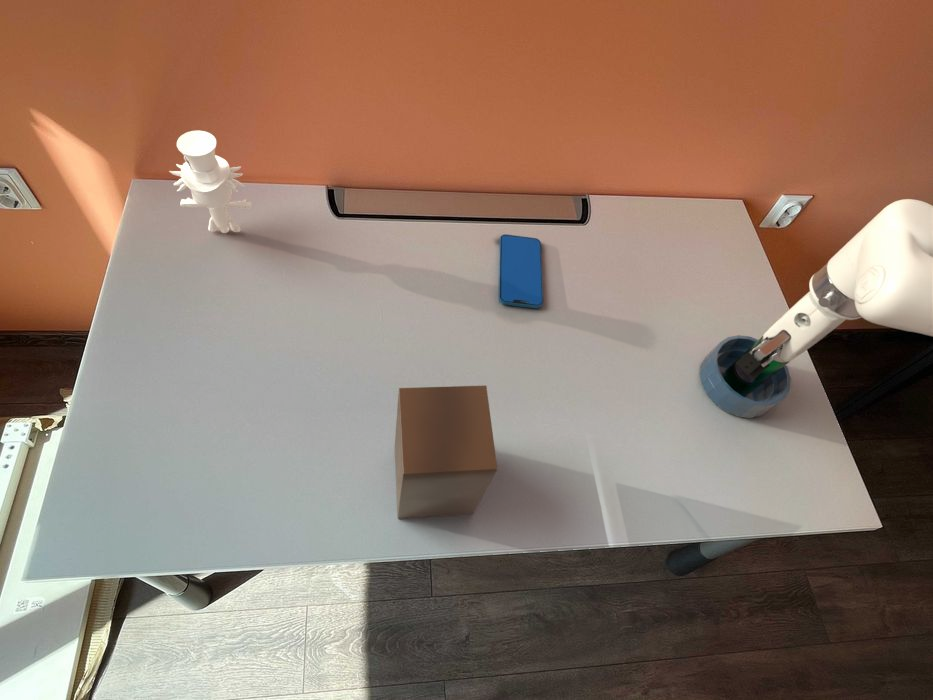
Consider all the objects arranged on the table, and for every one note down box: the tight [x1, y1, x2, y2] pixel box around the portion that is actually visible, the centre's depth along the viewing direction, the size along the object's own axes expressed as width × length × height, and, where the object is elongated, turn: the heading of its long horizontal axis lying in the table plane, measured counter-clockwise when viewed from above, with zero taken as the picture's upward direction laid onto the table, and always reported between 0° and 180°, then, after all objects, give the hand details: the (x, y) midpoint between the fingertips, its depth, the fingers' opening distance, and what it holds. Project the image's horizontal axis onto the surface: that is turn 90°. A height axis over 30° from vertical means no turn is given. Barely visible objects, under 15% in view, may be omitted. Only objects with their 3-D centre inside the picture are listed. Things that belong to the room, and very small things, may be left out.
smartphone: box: [498, 233, 544, 309], centre depth 98 cm, size 7×1×15 cm
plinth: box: [394, 385, 498, 520], centre depth 71 cm, size 10×10×18 cm
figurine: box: [168, 129, 253, 234], centre depth 87 cm, size 10×8×18 cm
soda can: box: [723, 335, 791, 395], centre depth 87 cm, size 5×5×12 cm
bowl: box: [699, 335, 792, 419], centre depth 91 cm, size 12×12×5 cm
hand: (766, 356), depth 86 cm, fingers open, 9 cm apart
